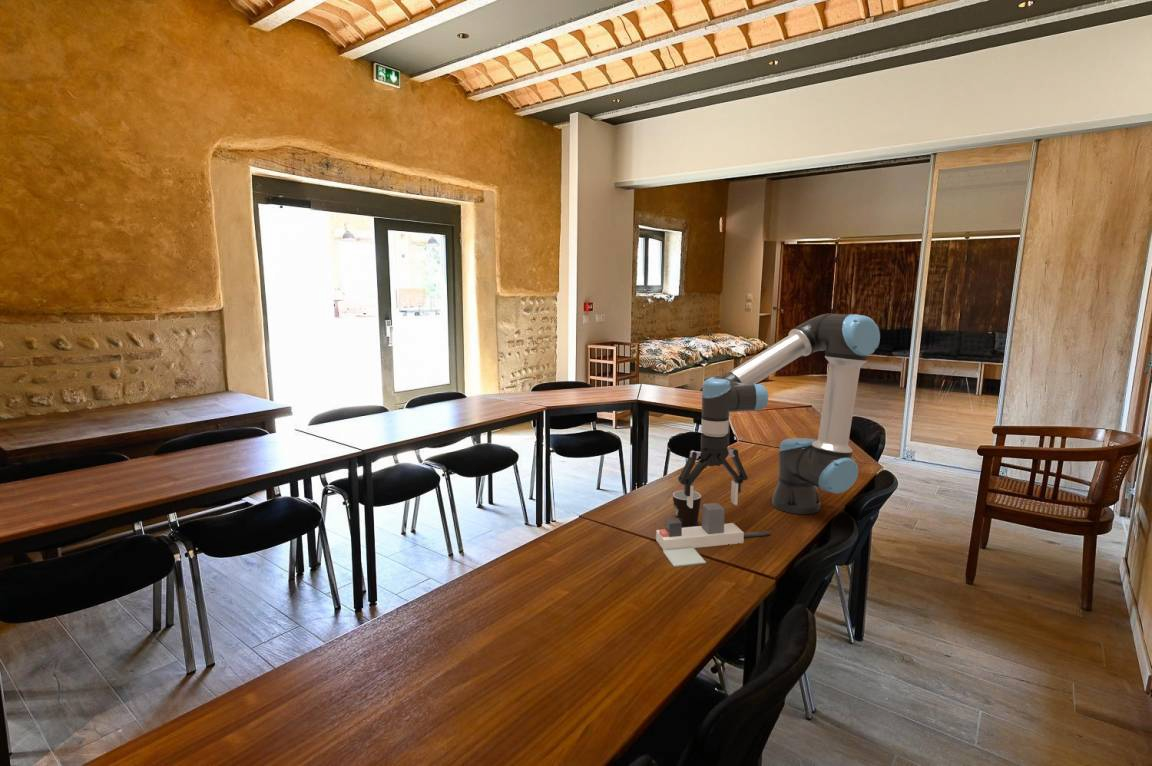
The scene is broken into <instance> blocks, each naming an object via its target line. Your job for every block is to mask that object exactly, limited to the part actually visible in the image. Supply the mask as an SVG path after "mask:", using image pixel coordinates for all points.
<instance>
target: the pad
mask: <svg viewBox="0 0 1152 766" xmlns="http://www.w3.org/2000/svg"><path fill="white" fill-rule="evenodd" d="M662 553H663V554H664V556H665V557H666V559H668V561H669V562H670V564H671V565H672V567H674V568H677V567H679V568H680V567H685V566H686V567H689V566H696V565H705V564H707V562H706V560H705V559H704V558H703V557H702V555H700V554H699V552H698V551H697V549H696V548H684V549H674V550H662Z"/></svg>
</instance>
